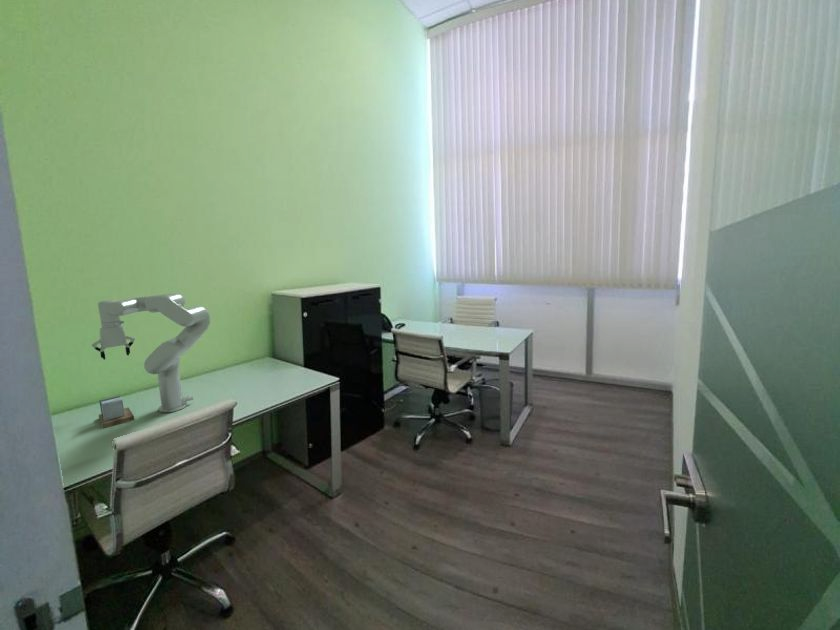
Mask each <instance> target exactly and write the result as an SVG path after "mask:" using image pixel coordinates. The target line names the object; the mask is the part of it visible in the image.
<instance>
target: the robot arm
mask: <svg viewBox="0 0 840 630" xmlns="http://www.w3.org/2000/svg"><path fill="white" fill-rule="evenodd" d="M185 304H186V299H185V297H184V296H183V295H181V294H180V293H167V294H158V295H148V296H141V297H130V298H126V299H121V300H114V299H108V300H107V299H106V300H104V299H103V300H100V301H99V302H98V303H97V306H98V307H97V308H98V311H99V312H98V313H99V318H100V325H101V327H100V328H99V339H98V340H97V341H95V342H94V343H91V347H93V348H94V350H96V351H97V352H99V353H100V358H101V359H103V360H106V354H105V351H104V350H105V349H106V348H107V349H108V348H113V347H120V346H121V347H122V346H125V353H126V355H127V356H130V354H131V350H130V349H131V347H132V345H133V344H134V342H135V339H136V338H135V337H131V336H127V335H126V332H125V330H124V327H123V325H124V324H125V321H124V320H120V317H122V316H127V315H130V314H135V313H140V312H149V313H153V314H154V313H160V314H162V315H163V316H164V317H166V318H168V319H169V320H171V321H172V322H174V323H176V324H177V325H179V326H180V327H184V328H183V329H182V330H181V331H180V332H179V333H178V334H177V335H176V336H175V337H173V338H170V339H168V340H165V341H163V342H162V343H161V344H160V345H158V346H157V347H156V348H155V349H154V350H153V351H152V352H151V353H150V355H148V356H147V358H146V359H145V361H144V363H143V366H144V370H145V371H146V372H147V373H148V374H150V375H157V382H158V389H159V394H160V395H159V397H160V402H161V403H160V405H159V407H158V408H157V409H158V412H160V413H166V414H167V413H173V412H174V413H175V412H177V411H181V410H182V409H184V408H185V407H187V405H188V404H187V402H190V401H193V400H194V397H193V396H189V395H187V396H185V397H184V396H183V392H182V391H183V390H182V384H181V383H182V382H181V374H180V357H181V356H183V355H184V354H186V353H187V352H188V351H189V350H191V348H192V347H193V346H194V345H195V344H196V342H198V340H200V338H202V336H203V335H204V334H205V333H206V332H207V330H208V328H209V326H210V323H211V316H210V315H211V314H210V313H209V311H208V309H207V308H205V307H203V306H201V305H199V306H198V305H196V306H191V307H189V308H184V306H185ZM127 340H129V342H128V343H127ZM99 344H100V347H98V346H97V345H99Z"/></svg>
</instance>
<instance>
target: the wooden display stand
mask: <svg viewBox="0 0 840 630" xmlns="http://www.w3.org/2000/svg"><path fill="white" fill-rule="evenodd" d="M119 397H121V395H118V396H114V397H110V398H104V399H100V400H99V403H98V404H99V406H100V407H99V408H100V414H98V419H99V422H100V423H101V426H102V429H106V428H109V427H112V426H116V425H120V424H124V423H127V422H131V421H134V420H135V416H134V414H133V412H132V410H131V409H130V408H129V407H125V408H124V413H125V415H124V416H121V417H117V418H113V419H110V420H106V421H105V420H104V418H103V413H102V408H101V402H103V401H107V400H111V399H115V398H119Z"/></svg>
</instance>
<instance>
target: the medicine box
mask: <svg viewBox="0 0 840 630" xmlns="http://www.w3.org/2000/svg"><path fill="white" fill-rule="evenodd" d="M101 408H102V413H103V418H104V420H105V421H106V420H110V419H113V418H117V417H121V416H124V415H125V413H124V401H123V399H122V397H121V396H120V397H119V398H115V399H111V400H107V401H103V402H101ZM101 408H100V409H101Z"/></svg>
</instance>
